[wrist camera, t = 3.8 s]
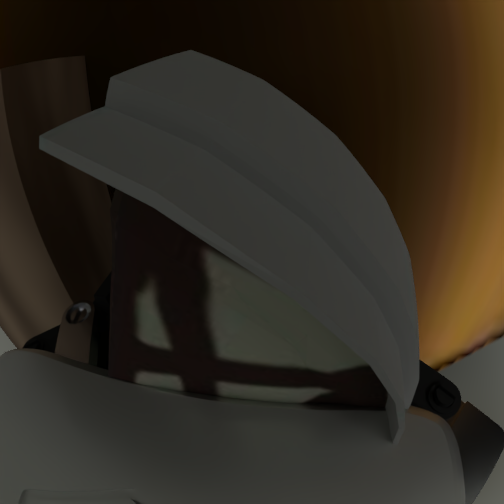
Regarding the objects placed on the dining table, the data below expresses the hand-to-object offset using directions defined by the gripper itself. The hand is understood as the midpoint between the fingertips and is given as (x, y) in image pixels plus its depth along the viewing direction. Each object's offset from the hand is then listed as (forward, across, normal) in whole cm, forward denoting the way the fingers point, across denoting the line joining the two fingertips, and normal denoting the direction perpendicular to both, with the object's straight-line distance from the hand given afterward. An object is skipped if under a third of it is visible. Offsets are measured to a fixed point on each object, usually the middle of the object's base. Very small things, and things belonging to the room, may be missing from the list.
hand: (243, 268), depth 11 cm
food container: (+3, -1, 0) cm, 3 cm away
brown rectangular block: (+3, +14, +1) cm, 14 cm away
